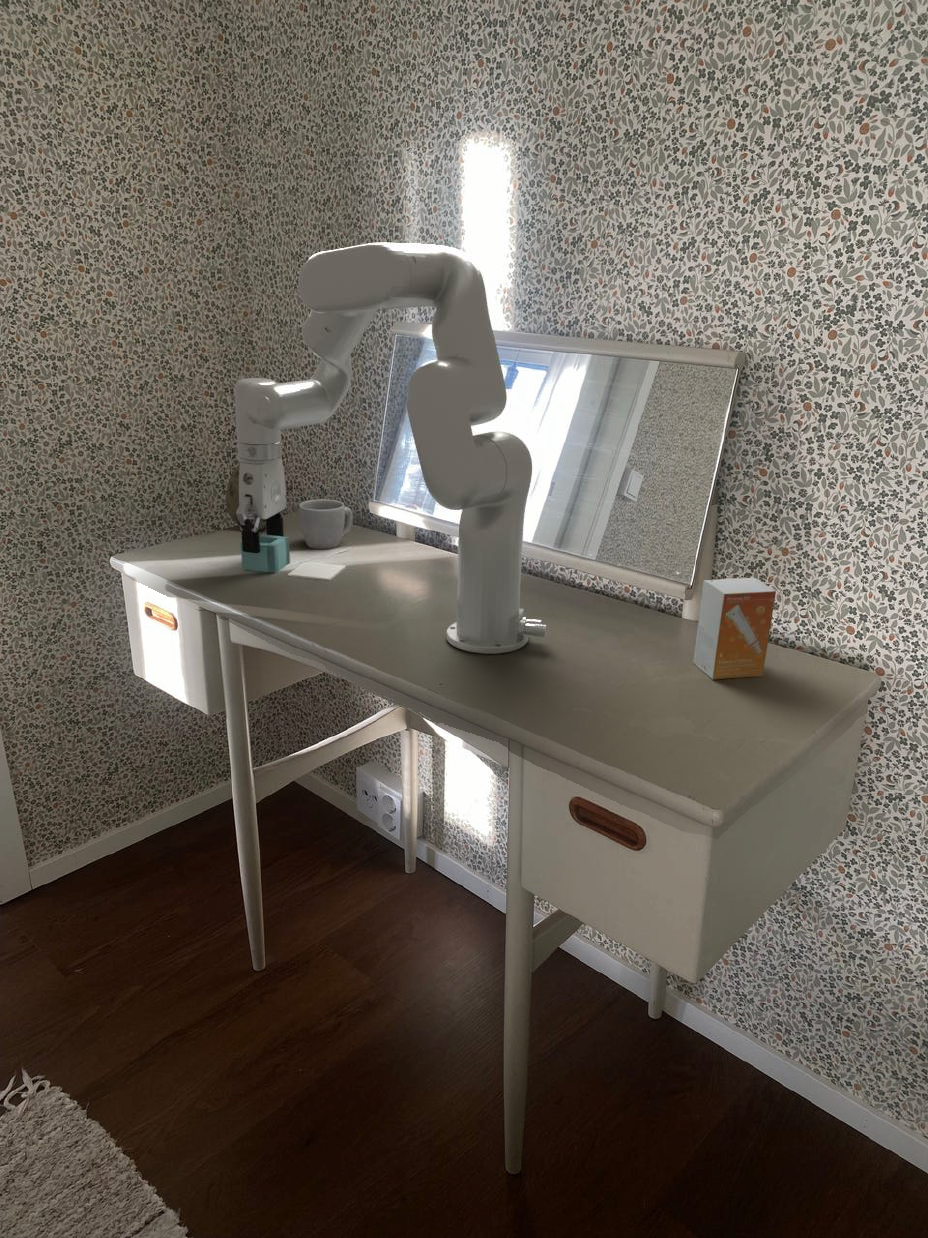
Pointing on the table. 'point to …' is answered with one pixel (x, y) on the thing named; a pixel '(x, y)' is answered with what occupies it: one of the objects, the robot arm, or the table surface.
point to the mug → (324, 522)
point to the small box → (733, 627)
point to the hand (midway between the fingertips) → (263, 544)
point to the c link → (268, 555)
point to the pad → (317, 571)
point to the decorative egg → (237, 498)
